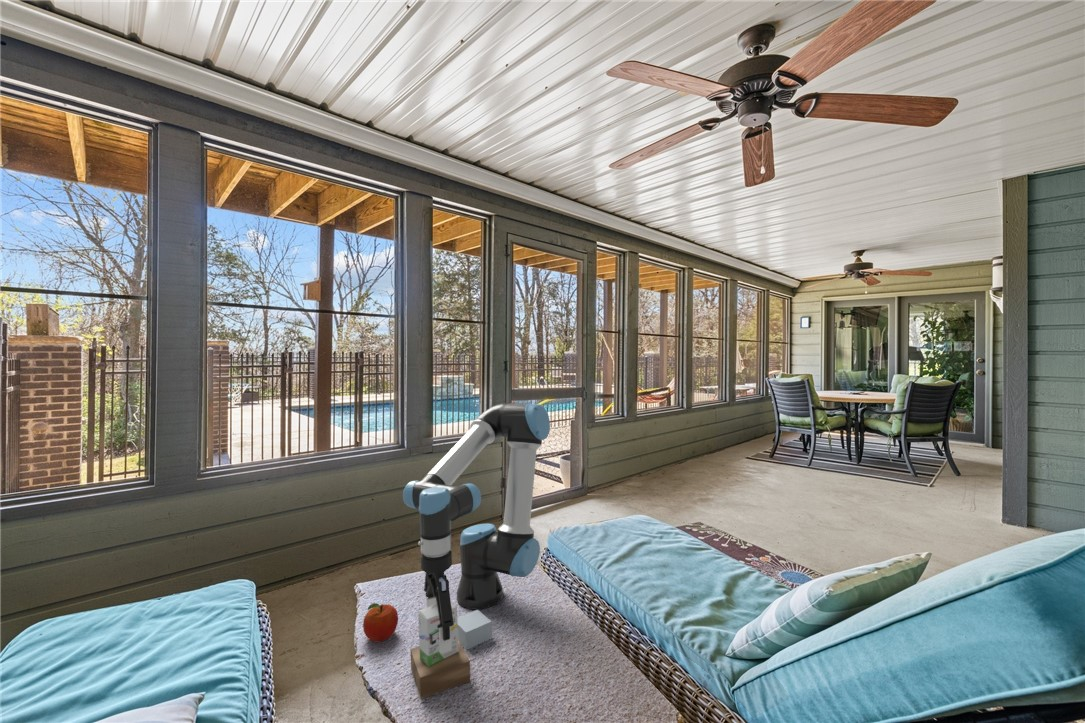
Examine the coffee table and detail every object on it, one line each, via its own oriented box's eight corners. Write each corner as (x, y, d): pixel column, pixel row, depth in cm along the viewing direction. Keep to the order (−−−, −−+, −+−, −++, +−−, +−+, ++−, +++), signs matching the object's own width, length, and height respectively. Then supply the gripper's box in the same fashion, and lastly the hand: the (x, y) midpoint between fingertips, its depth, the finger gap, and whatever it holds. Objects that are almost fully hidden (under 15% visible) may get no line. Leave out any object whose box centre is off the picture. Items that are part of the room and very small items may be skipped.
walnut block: (411, 668, 117) (410, 649, 117) (456, 653, 123) (456, 635, 122) (420, 699, 106) (420, 677, 106) (470, 681, 112) (469, 661, 112)
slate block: (453, 636, 130) (452, 619, 130) (478, 626, 135) (477, 609, 135) (466, 650, 124) (466, 632, 124) (491, 639, 129) (491, 621, 129)
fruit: (402, 640, 129) (401, 604, 129) (366, 651, 124) (365, 615, 124) (394, 623, 138) (393, 590, 138) (360, 634, 133) (359, 600, 133)
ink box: (428, 667, 110) (426, 618, 110) (418, 658, 113) (417, 610, 113) (459, 651, 115) (457, 605, 115) (449, 643, 119) (448, 598, 119)
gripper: (411, 537, 124) (413, 615, 124) (432, 575, 101) (435, 670, 102) (438, 532, 127) (441, 608, 127) (465, 567, 105) (468, 659, 105)
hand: (438, 636), depth 114 cm, fingers open, 13 cm apart
